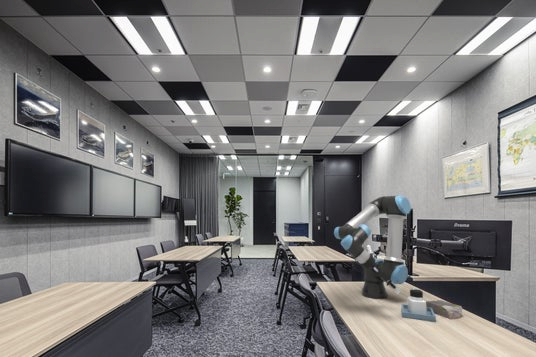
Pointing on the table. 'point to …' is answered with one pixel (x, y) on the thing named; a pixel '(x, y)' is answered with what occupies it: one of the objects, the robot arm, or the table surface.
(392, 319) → the table surface
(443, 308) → the geological specimen
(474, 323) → the table surface
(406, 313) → the tray
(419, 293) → the medicine bottle
